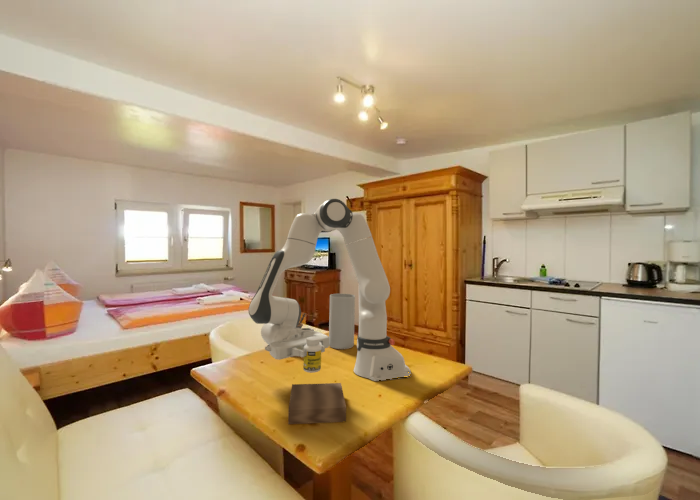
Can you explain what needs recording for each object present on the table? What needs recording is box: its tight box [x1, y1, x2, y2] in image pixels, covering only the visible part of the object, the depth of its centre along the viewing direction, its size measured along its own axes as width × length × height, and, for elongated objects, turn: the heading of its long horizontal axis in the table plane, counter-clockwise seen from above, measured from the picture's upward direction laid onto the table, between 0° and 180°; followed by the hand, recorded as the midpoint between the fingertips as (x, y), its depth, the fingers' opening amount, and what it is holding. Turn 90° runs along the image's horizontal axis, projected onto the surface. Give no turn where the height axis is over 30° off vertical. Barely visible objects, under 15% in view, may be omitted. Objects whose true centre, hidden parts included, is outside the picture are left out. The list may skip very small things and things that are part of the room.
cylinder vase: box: [328, 293, 356, 350], centre depth 157 cm, size 12×12×25 cm
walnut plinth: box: [287, 382, 347, 425], centre depth 96 cm, size 16×16×4 cm
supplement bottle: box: [302, 337, 322, 374], centre depth 98 cm, size 5×5×10 cm
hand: (314, 351), depth 97 cm, fingers closed on supplement bottle, 5 cm apart
